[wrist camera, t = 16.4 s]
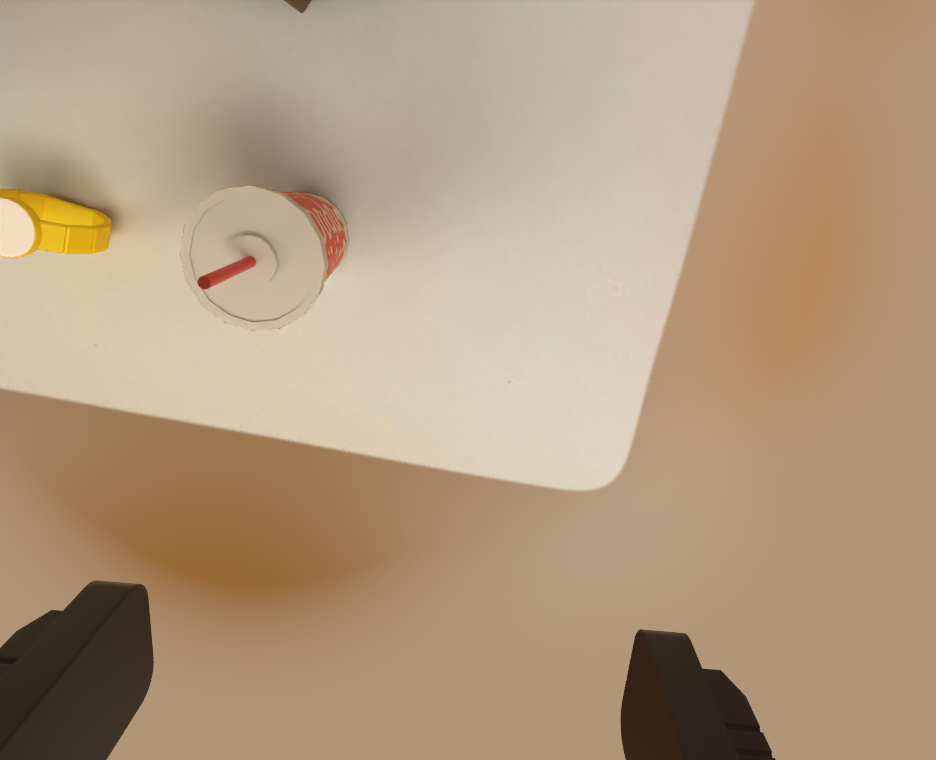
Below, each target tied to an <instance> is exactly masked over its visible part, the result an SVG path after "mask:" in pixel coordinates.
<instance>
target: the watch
mask: <svg viewBox="0 0 936 760" xmlns="http://www.w3.org/2000/svg"><path fill="white" fill-rule="evenodd" d="M111 225H112V220H111V219H110V218H109V217H108V216H106V215H104V214H103V213H101V212H100V211H97V210H93V209H90V208H87V207H84V206H80V205H77V204H74V203H70V202H67V201H64V200H61V199H57V198H54V197H51V196H50V195H45V194H40V193H34V192H27V191H21V190H18V191H17V190H13V189H0V256H3V257H8V258H18V257H23V256H27V255H29V254H31V253H33V252H35V251H36V250H37V249H38V250H45V251H51V252H58V253H63V252H64V253H70V254H90V253H96V252H100V251H104V250H106V249H108V245H109V239H110V232H111Z"/></svg>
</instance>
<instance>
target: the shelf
mask: <svg viewBox="0 0 936 760" xmlns="http://www.w3.org/2000/svg"><path fill="white" fill-rule="evenodd" d="M284 1H286V2H287V3H288V4H290V5H291V6H292V7H294V8H295V9H296V10H298V11H299V12H301V13H303V12H304V10H305V9H306V7H307V6H308V4H309V2H310V1H311V0H284Z"/></svg>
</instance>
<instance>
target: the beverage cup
mask: <svg viewBox="0 0 936 760" xmlns="http://www.w3.org/2000/svg"><path fill="white" fill-rule="evenodd" d="M348 242H349V237H348V231H347V225H346V222H345V220H344V219H343V217H342V215H341V214H340V212H339V210H338V208H336V207H335V206H334V205H333V204H331V203H330V202H329V201H328V200H326V199H325V198H324V197H321V196H317V195H314V194H311V193H305V192H278V191H275V190H271V189H268V188H265V187H261V186H258V185H256V186H255V185H251V186H242V187H233V188H224V189H221V190H220V191H218V192H216V193H215V194H213V195H211V196H210V197H208V198H207V199H205V200H203V201H202V202H200V203H199V204H198V205H197V207H196V208H195V210H194V211H193V213H192V215H191V216H190V218H189V219H188V221H187V222H186V224H185V225H184V229H183V235H182V242H181V249H180V258H181V262H182V266H183V270H184V274H185V278H186V282H187V284H188V285H189V287H190V288H191V290H192V291H193V293H194V294H195V296H196V297H197V299H198V300H199V302H200V303H201V305H202V306H203V307H204V308H206V309H207V310H208V311H210V312H211V313H212V314H214V315H215V316H216V317H218V318H219V319H221V320H222V321H223V322H225V323H226V324H229V325H233V326H236V327H240V328H243V329H247V330H250V331H262V330H272V329H280V328H282V327H284V326H286V325H288V324H289V323H291V322H293V321H295V320H297V319H298V318H300V317H302V316H304V315H305V313H306V312H307V311H308V310H309V308H310V307H311V306H312V304H313V303H314V302H315V300H316V299H317V298H318V296H319V295H320V293H321V292H322V291H323V286H324V282H325V281H326V280H327V278H328V277H329V276H330V275H331V274H332V272H333V271H334V270H335V269H336V268H337V266H338V265H339V264H340V262H341V261H342V259H343V258H344V257H345V255H346V250H347V246H348Z"/></svg>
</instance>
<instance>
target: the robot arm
mask: <svg viewBox="0 0 936 760" xmlns="http://www.w3.org/2000/svg"><path fill="white" fill-rule="evenodd" d="M153 663H154V661H153V648H152V636H151V625H150V613H149V601H148V593H147V590H146V588H145V587H144V586H143V585H141V584H132V583H120V582H109V581H92V582H91V583H89V584H88V585H87V586H86V587H85V588H84V589H83V590H82V591H81V592H80V593H79V594H78V595H77V597H75V599H74V600H73V601H72V602H71V603H70V604H69V605H68V606H67V607H66V608H65V609H64V610H63V611H57V610H51V611H49V612H48V613H46V614H44V615H43V616H41V617H39V618H38V619H36V620H35V621H33V622H31V623H29V624H28V625H26V626H24V627H23V628H21V629H20V630H18V631H16V633H14V635H12V637H10V639H9V640H8V641H7V642H6V643H5V644H4V645H3V646H2V647H1V648H0V760H106V759H107V758H108V756H109V755H110V753H111V752H112V750H113V748H114V747H115V745H116V744H117V742H118V740H119V739H120V737H121V736H122V734H123V733H124V731H125V729H126V728H127V726H128V725H129V723H130V721H131V719H132V718H133V716H134V715H135V713H136V712H137V710H138V709H139V707H140V706H141V704H142V702H143V700H144V698H145V696H146V694H147V691H148V689H149V686H150V682H151V678H152V672H153ZM621 736H622V744H623V749H624V754H625V758H626V760H775V758H772V754H771V753H772V751H771V749H770V747H769V745H768V743H767V741H766V738H765V736H764V734H763V733H762V732H760V726H759V724H758V722H757V720H756V717H755V715H754V713H753V711H752V709H751V707H750V704H749V702H748V700H747V698H746V696H745V695H744V694H743V693H742V692H741V691H740V690H739V689H738V688H737V687H736V686H735V685H734V684H733V683H732V682H731V681H730V680H729V678H728V677H727V676H726V675H725V674H724V673H723V672H722V671H721V670H711V669H702V667H701V665H700V662H699V660H698V657H697V655H696V652H695V650H694V648H693V645H692V643H691V640H690V638H689V637H688V636H687V634H685V633H675V632H664V631H652V630H641V629H640V630H639V631H638V632H637V633H636V636H635V640H634V644H633V650H632V654H631V660H630V665H629V670H628V675H627V681H626V685H625V690H624V696H623V700H622V707H621Z"/></svg>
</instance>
